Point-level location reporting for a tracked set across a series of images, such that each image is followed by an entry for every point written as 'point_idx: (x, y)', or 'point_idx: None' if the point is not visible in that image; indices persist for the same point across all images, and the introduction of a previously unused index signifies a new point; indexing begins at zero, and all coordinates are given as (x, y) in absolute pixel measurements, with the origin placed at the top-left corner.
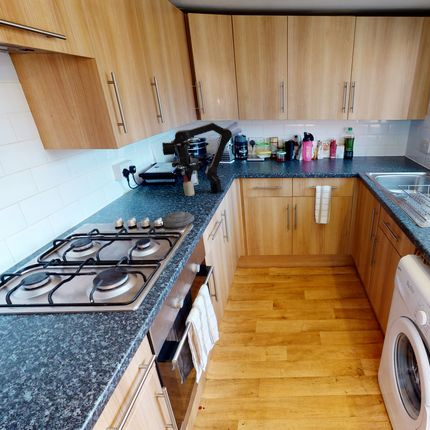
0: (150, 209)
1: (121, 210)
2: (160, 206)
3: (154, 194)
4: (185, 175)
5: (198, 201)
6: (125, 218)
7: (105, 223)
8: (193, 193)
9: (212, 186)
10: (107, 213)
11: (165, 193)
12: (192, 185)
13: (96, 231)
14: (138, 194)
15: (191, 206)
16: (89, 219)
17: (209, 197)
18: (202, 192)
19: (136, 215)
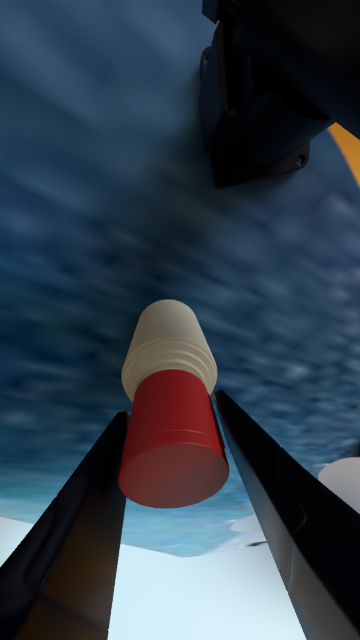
0: (229, 475)
1: (171, 520)
2: (227, 453)
3: (52, 449)
4: (169, 491)
5: (311, 332)
6: (241, 515)
7: (235, 537)
8: (195, 316)
9: (303, 143)
10: (170, 537)
11: (63, 414)
12: (206, 343)
13: (264, 543)
14: (15, 487)
15: (333, 377)
16: (182, 553)
17: (317, 253)
18: (187, 242)
19: (244, 500)
